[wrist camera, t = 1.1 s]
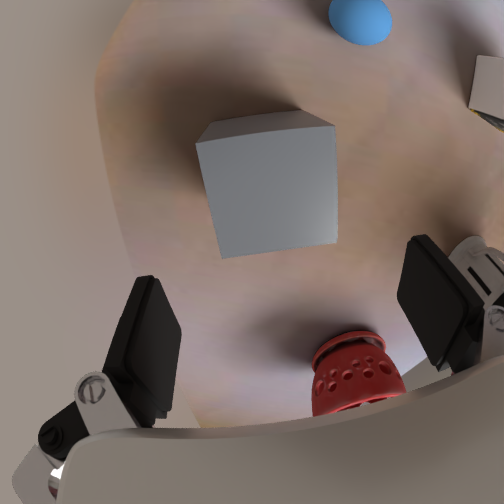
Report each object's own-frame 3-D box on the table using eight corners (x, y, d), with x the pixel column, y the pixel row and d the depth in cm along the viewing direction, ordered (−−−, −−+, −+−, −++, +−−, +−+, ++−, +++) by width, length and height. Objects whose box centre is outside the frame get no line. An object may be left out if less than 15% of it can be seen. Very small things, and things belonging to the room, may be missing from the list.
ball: (370, 1, 15) (397, -11, 11) (378, 49, 18) (407, 46, 14) (316, -4, 15) (334, -21, 11) (325, 46, 18) (346, 39, 14)
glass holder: (446, 294, 35) (493, 371, 22) (430, 229, 28) (504, 319, 16) (486, 264, 32) (538, 332, 20) (478, 193, 26) (559, 264, 13)
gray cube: (302, 109, 21) (335, 125, 14) (309, 191, 26) (337, 242, 18) (211, 122, 22) (195, 143, 14) (226, 203, 26) (221, 258, 19)
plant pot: (353, 309, 35) (382, 386, 25) (396, 339, 40) (422, 401, 30) (284, 358, 40) (294, 431, 30) (336, 379, 45) (350, 438, 35)
